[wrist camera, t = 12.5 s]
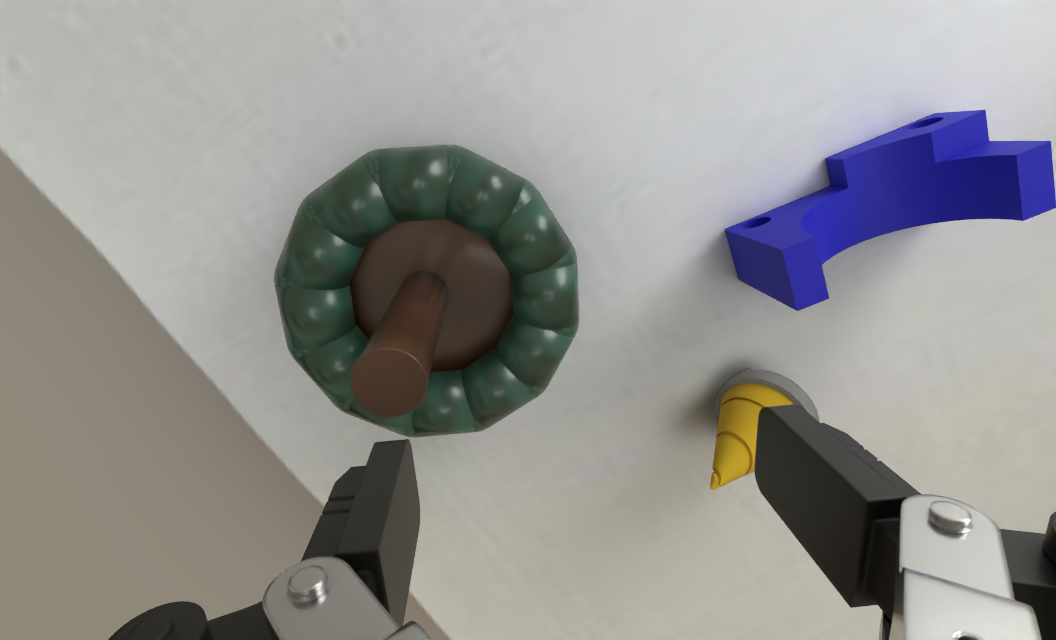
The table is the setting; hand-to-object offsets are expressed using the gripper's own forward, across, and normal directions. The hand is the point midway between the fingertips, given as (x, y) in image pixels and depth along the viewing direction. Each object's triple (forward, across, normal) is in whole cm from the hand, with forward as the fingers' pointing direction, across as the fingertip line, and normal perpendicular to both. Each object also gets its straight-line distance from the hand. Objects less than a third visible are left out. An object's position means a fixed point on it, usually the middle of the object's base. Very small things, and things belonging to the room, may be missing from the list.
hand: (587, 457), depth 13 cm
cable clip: (+18, -17, -3) cm, 25 cm away
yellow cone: (+18, -12, +9) cm, 23 cm away
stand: (+18, +5, 0) cm, 19 cm away
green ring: (+15, +5, 0) cm, 16 cm away
